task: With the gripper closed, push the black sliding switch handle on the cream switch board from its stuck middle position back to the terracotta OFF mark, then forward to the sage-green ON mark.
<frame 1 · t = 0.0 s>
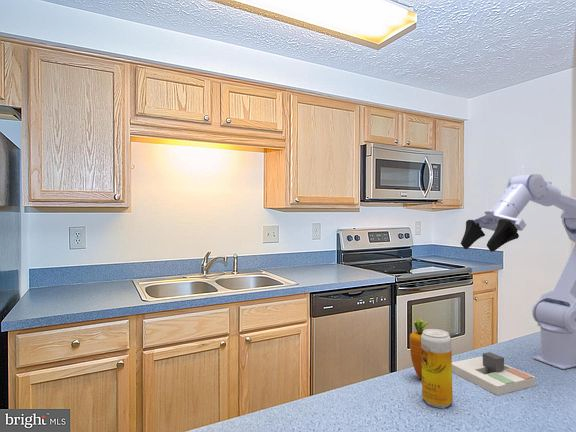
hand: (476, 247, 88), 32 cm above the countertop, tool tilted 50°, fingers open, 7 cm apart
beer can: (437, 402, 79), on the countertop
carrot: (420, 380, 90), on the countertop
switch handle: (493, 365, 90), point 3 cm above the countertop, slide at 3.0 cm
switch board: (490, 377, 90), on the countertop
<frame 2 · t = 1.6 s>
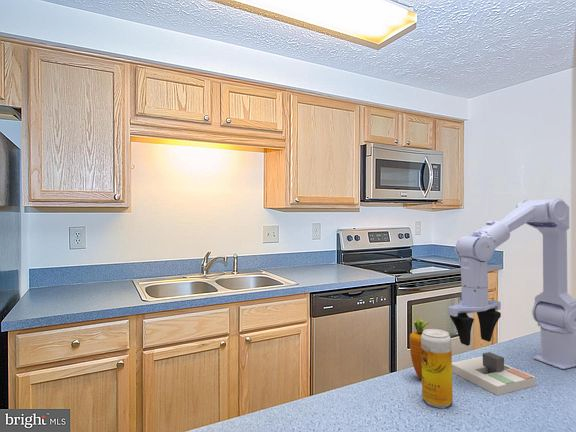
hand: (475, 342, 88), 9 cm above the countertop, tool pointing down, fingers open, 6 cm apart
nothing on the countertop moved.
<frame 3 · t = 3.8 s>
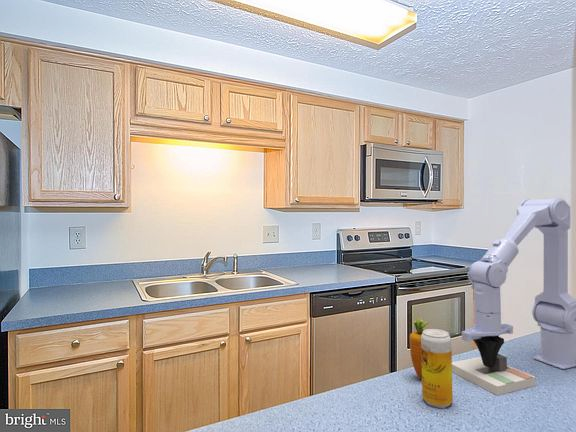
hand: (488, 366, 90), 3 cm above the countertop, tool pointing down, fingers closed
switch handle: (496, 364, 90), point 3 cm above the countertop, slide at 2.0 cm, touching gripper
everything else where it was.
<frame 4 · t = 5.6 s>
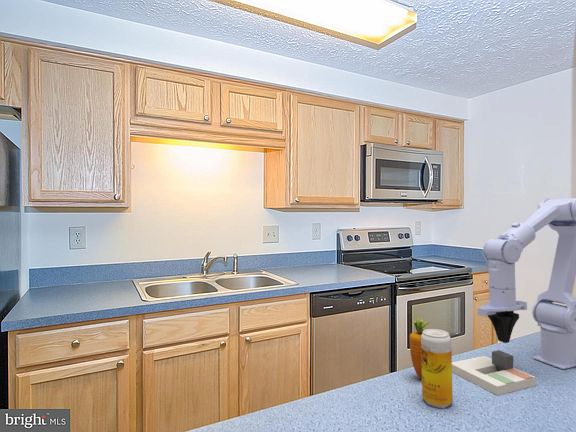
hand: (503, 341, 91), 8 cm above the countertop, tool pointing down, fingers closed
switch handle: (502, 363, 91), point 3 cm above the countertop, slide at -0.1 cm
everything else where it was.
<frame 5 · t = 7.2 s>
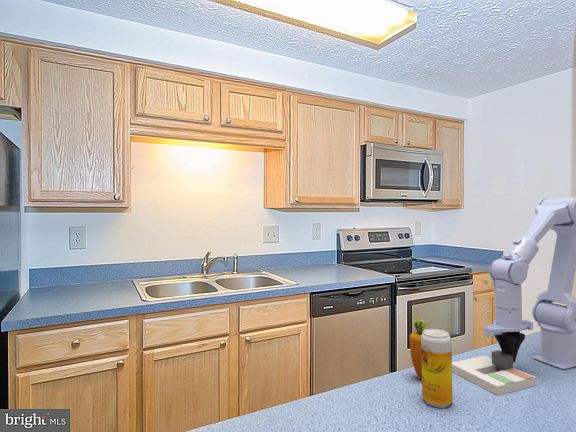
hand: (509, 361, 92), 3 cm above the countertop, tool pointing down, fingers closed
switch handle: (502, 363, 91), point 3 cm above the countertop, slide at 0.0 cm, touching gripper
everything else where it was.
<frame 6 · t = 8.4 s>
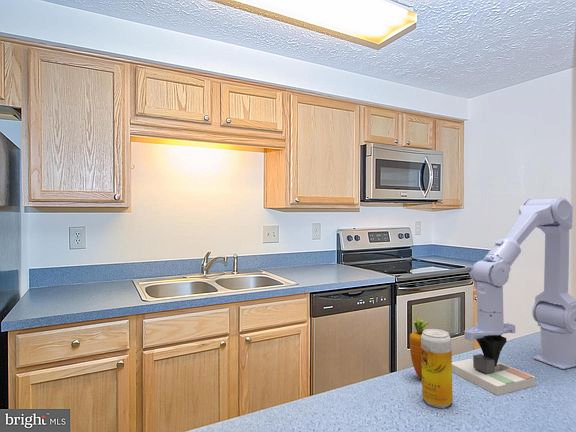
hand: (491, 365, 90), 3 cm above the countertop, tool pointing down, fingers closed
switch handle: (483, 367, 89), point 3 cm above the countertop, slide at 6.1 cm, touching gripper
everything else where it was.
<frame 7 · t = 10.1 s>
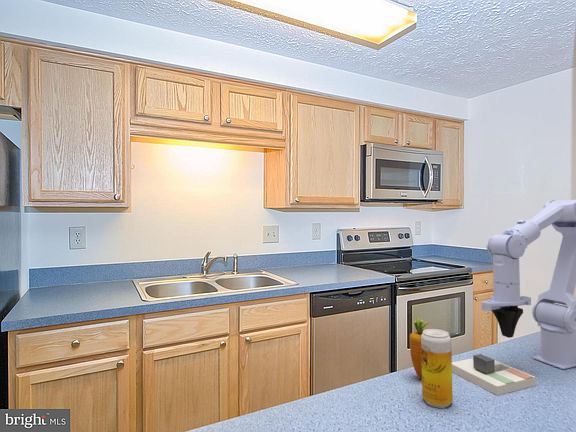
hand: (507, 336, 92), 9 cm above the countertop, tool pointing down, fingers closed
switch handle: (483, 367, 89), point 3 cm above the countertop, slide at 6.1 cm
everything else where it was.
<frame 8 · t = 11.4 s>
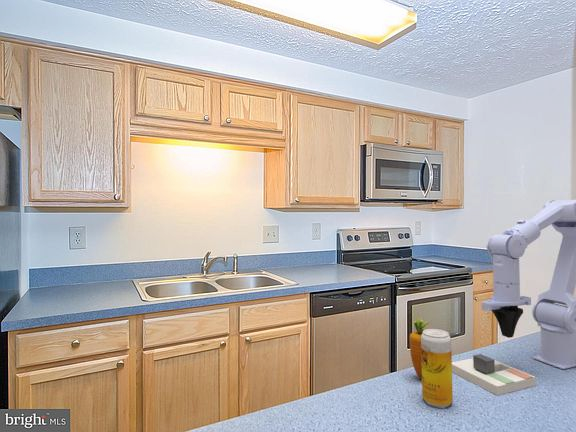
hand: (507, 336, 92), 9 cm above the countertop, tool pointing down, fingers closed
nothing on the countertop moved.
at the end: switch handle slide at 6.1 cm; beer can moved 0.2 cm from its start; carrot moved 0.2 cm from its start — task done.
